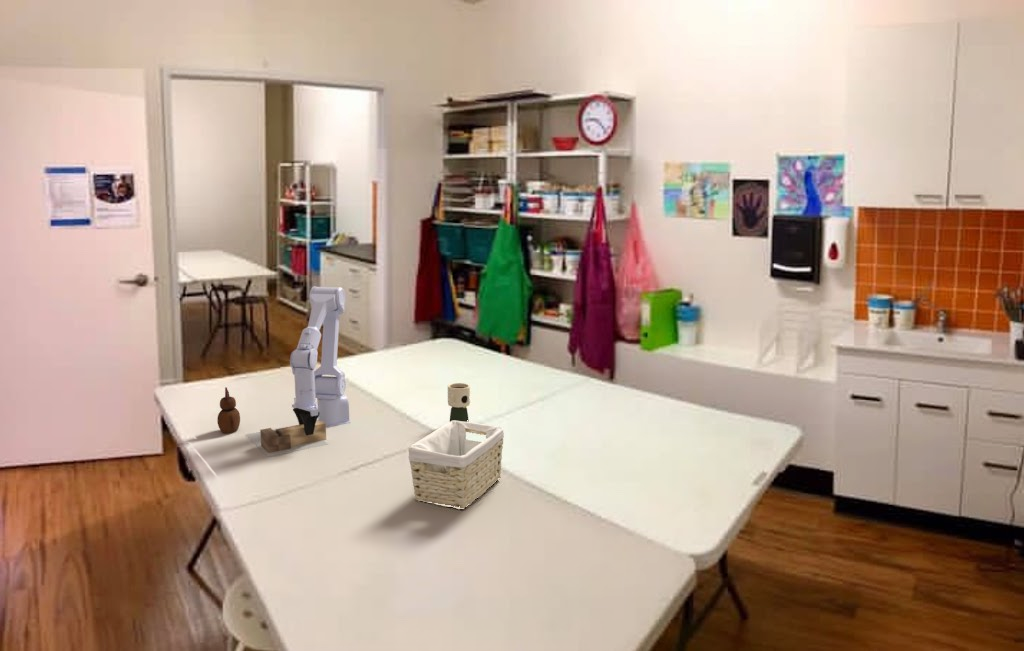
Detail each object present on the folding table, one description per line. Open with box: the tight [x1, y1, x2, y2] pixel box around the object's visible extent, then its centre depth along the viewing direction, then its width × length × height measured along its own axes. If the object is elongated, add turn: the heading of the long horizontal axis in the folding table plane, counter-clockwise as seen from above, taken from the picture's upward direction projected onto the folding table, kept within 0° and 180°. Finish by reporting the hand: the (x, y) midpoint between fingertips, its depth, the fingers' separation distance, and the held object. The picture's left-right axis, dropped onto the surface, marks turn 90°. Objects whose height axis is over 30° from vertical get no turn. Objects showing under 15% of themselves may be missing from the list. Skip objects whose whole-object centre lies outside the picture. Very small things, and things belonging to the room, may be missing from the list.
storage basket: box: [408, 420, 504, 508], centre depth 202 cm, size 24×16×15 cm
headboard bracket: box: [259, 427, 291, 453], centre depth 231 cm, size 6×7×5 cm
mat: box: [245, 424, 329, 457], centre depth 239 cm, size 18×22×1 cm
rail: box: [275, 421, 327, 446], centre depth 236 cm, size 14×3×5 cm, turn 124°
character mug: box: [447, 382, 471, 422], centre depth 253 cm, size 11×7×13 cm, turn 157°
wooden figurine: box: [216, 386, 241, 435], centre depth 244 cm, size 7×6×15 cm
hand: (307, 432), depth 237 cm, fingers open, 3 cm apart
